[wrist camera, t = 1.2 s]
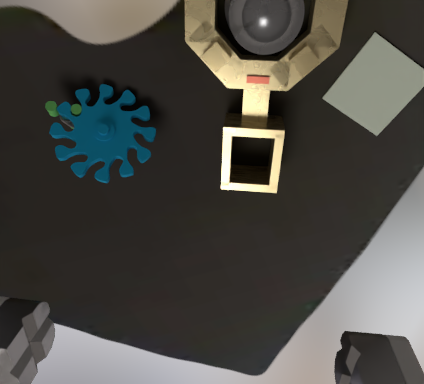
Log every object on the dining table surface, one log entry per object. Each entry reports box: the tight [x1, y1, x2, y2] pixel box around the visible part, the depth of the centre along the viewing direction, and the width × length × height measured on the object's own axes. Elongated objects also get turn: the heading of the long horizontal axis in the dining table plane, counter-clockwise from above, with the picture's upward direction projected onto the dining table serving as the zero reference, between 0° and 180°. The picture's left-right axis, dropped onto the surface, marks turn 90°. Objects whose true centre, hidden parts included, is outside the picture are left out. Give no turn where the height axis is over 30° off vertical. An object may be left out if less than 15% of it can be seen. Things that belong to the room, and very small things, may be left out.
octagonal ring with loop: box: [185, 0, 348, 193], centre depth 32 cm, size 23×13×4 cm, turn 179°
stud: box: [225, 0, 304, 55], centre depth 27 cm, size 7×7×10 cm
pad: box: [322, 32, 424, 136], centre depth 34 cm, size 7×7×1 cm
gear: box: [45, 84, 156, 183], centre depth 37 cm, size 11×6×10 cm
